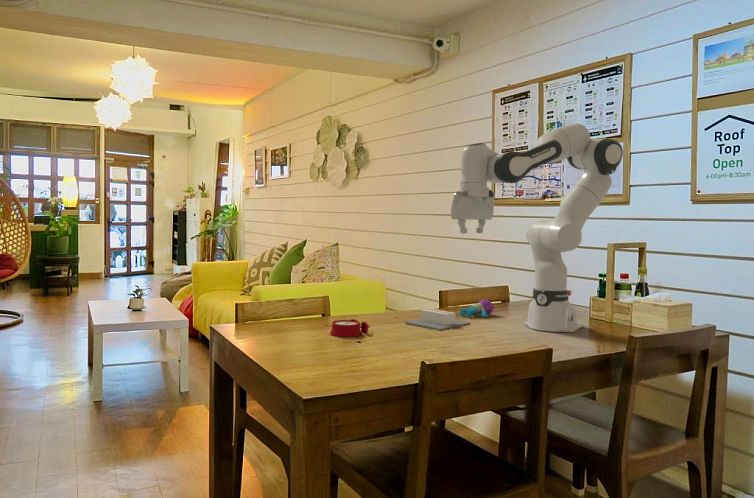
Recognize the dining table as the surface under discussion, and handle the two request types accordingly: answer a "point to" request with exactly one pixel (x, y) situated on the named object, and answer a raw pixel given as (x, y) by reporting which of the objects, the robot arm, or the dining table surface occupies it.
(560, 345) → the dining table surface
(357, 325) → the alarm clock
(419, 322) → the mat
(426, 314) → the white rectangular block
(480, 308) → the toy
